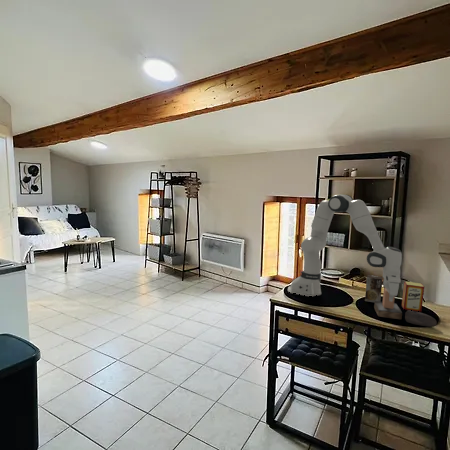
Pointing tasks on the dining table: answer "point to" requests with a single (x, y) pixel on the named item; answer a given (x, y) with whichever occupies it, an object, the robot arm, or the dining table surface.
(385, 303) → the terracotta block
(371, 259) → the robot arm
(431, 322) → the perforated stone tool
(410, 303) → the ginger box
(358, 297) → the dining table surface
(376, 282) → the coffee box
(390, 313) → the block
